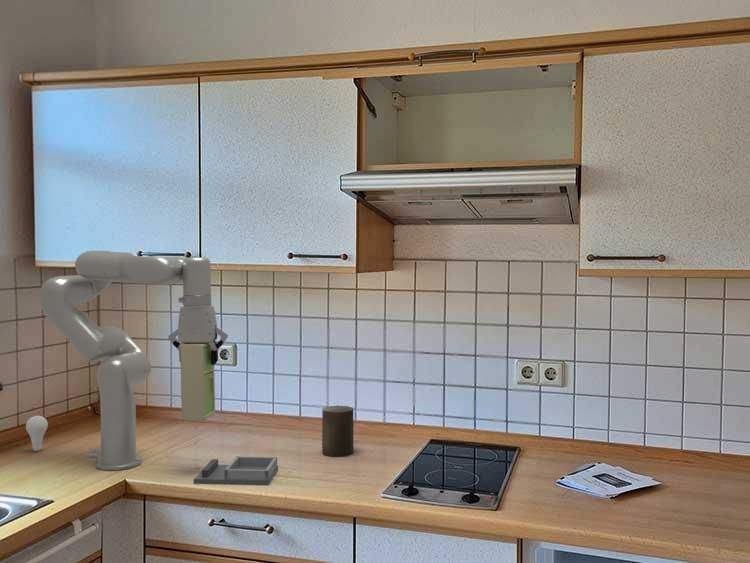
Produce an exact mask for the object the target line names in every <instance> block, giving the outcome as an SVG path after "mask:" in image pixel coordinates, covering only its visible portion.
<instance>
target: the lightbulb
mask: <svg viewBox="0 0 750 563" xmlns="http://www.w3.org/2000/svg"><path fill="white" fill-rule="evenodd" d="M48 426H49V423H48V421H47V419H46V418H45V417H44V416H41V415H34V416H32V417H30V418H29V419H28V420H27V421H26V423H25V431H26V432H27V434H28V435H29V437H30V440H31V444H32V445H31V446H32V450H33V451H35V452H39V451H40V450H42V448H43V440H44V436H45V433H46V432H47V429H48Z"/></svg>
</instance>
